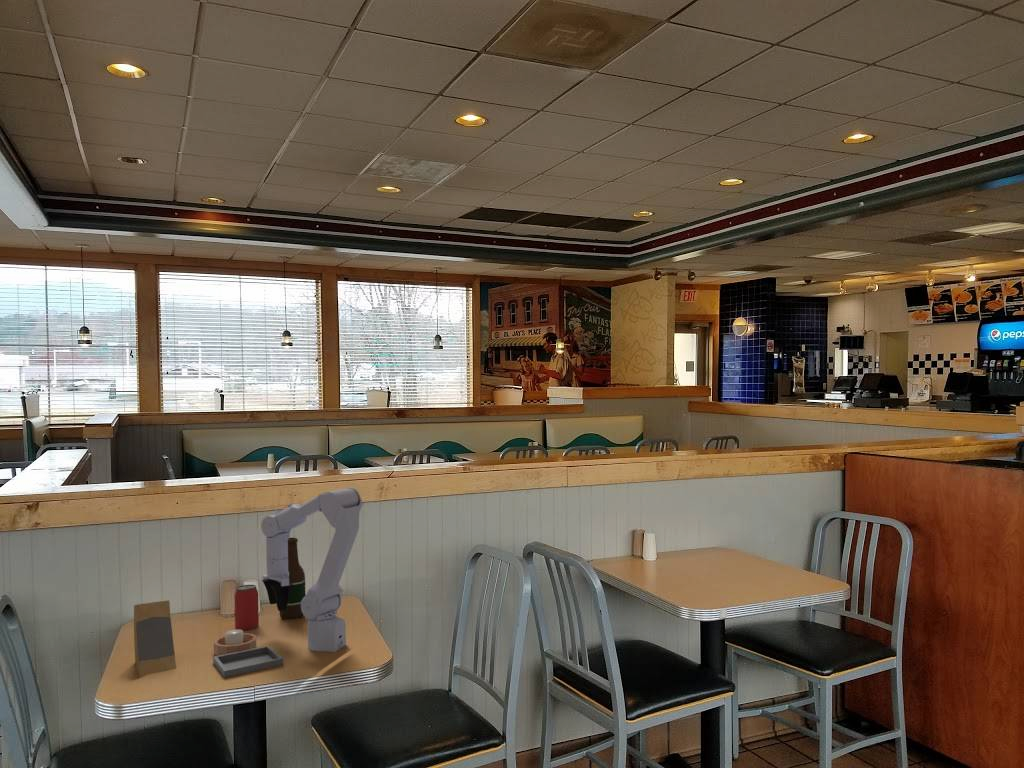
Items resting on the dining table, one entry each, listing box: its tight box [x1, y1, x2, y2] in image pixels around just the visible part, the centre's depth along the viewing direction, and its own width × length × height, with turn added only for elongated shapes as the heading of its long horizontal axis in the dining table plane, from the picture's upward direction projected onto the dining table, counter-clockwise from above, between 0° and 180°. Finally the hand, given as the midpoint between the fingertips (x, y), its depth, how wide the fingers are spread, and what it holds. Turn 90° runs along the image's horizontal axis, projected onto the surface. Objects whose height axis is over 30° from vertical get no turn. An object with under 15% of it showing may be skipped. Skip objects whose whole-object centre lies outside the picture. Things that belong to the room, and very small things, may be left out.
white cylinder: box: [224, 629, 244, 645], centre depth 197 cm, size 4×4×5 cm
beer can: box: [234, 584, 260, 632], centre depth 220 cm, size 7×7×12 cm
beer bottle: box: [279, 537, 306, 620], centre depth 230 cm, size 8×8×24 cm
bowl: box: [213, 632, 258, 656], centre depth 197 cm, size 10×10×4 cm
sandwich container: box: [133, 600, 177, 679], centre depth 188 cm, size 9×15×15 cm, turn 31°
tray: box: [212, 645, 284, 679], centre depth 187 cm, size 14×12×3 cm
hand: (278, 606), depth 207 cm, fingers open, 7 cm apart
